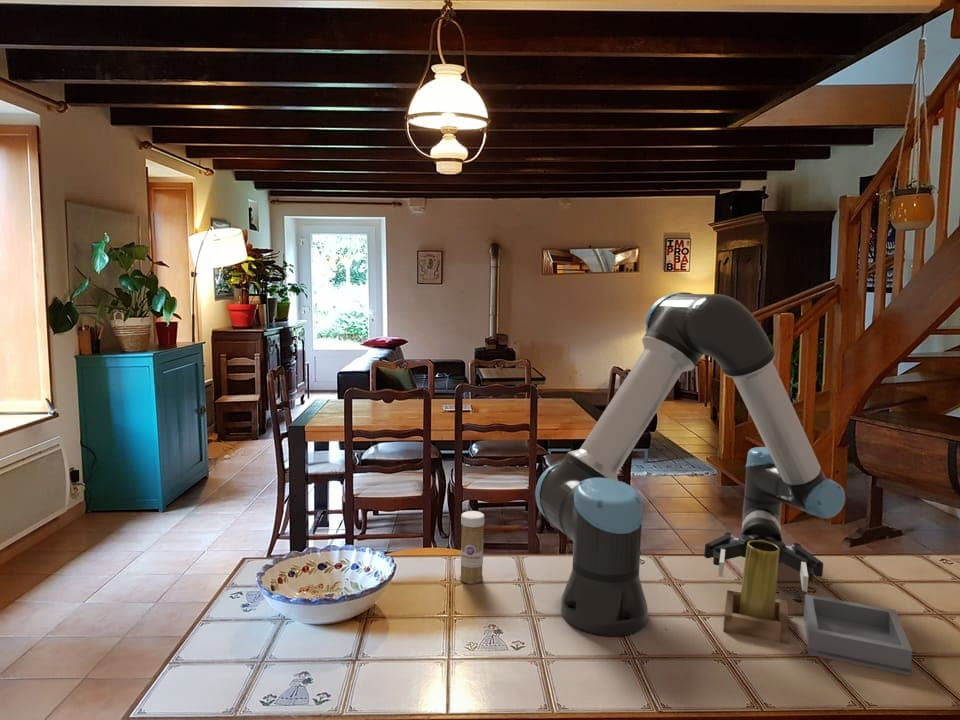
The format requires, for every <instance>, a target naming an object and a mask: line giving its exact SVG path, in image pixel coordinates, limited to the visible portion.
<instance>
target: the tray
mask: <svg viewBox="0 0 960 720" xmlns="http://www.w3.org/2000/svg"><path fill="white" fill-rule="evenodd" d="M803 621H804V622H805V623H804V622H803V623H804V630H806V631H805V639H806V644H807V645H806V646H807V653H808V655H809V656H814V657H818V658H823V659H828V660H834V661H838V662H843V663H847V664H853V665H857V666H861V667H866V668H870V669H871V668H872V669H876V670H881V671H885V672H891V673H895V674H900V675H904V676H911V670H912V661H913V649H912V646H911V644H910V641H909V639H908V637H907V634H906V632H905V630H904V627H903V625H902V621H901V619H900V618H899V615H898V613H897V610H896V609H890V608H886V607H885V608H884V607H879V606H873V605H868V604H862V603H856V602H850V601H846V600H845V601H844V600H840V599H834V598H829V597H823V596H817V595H811V594H806V593H805V594H804V606H803Z"/></svg>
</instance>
